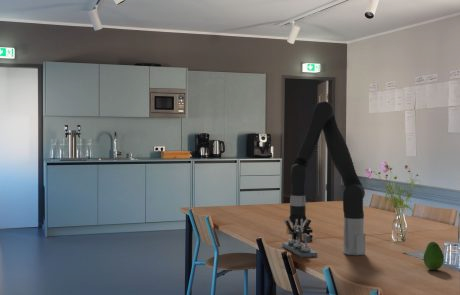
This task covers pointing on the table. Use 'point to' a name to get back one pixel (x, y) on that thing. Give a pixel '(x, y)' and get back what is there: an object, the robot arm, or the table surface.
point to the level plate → (299, 250)
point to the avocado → (433, 256)
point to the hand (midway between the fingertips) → (297, 239)
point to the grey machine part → (308, 232)
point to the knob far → (291, 241)
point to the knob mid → (299, 236)
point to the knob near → (306, 239)
